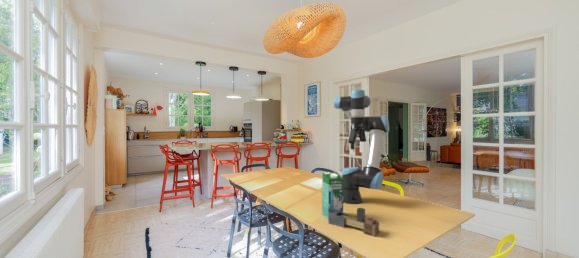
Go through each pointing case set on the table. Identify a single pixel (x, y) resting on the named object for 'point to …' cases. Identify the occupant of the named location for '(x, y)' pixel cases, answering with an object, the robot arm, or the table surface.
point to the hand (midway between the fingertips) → (357, 153)
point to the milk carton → (332, 193)
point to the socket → (371, 227)
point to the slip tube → (356, 219)
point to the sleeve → (337, 218)
